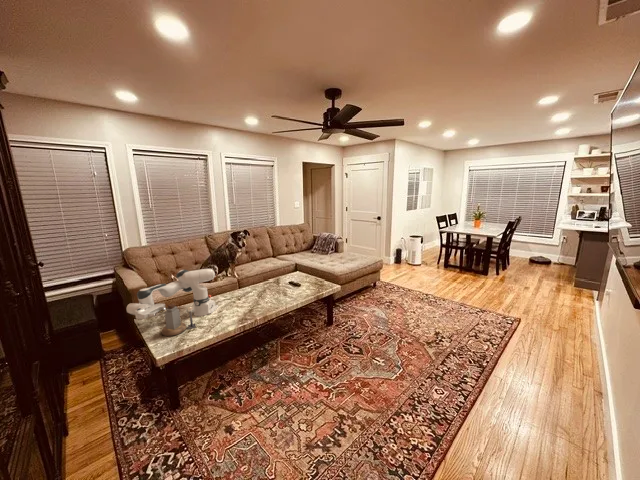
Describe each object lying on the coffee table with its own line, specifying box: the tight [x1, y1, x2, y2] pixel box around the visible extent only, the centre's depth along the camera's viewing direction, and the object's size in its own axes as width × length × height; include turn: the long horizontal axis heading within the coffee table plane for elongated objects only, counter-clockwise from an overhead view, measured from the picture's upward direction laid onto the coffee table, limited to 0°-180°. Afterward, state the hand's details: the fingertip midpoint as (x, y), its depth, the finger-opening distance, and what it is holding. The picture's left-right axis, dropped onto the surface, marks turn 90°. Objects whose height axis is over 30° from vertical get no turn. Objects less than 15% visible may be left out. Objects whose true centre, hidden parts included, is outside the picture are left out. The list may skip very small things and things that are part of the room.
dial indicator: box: [186, 305, 196, 330], centre depth 203 cm, size 5×5×17 cm
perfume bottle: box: [164, 303, 182, 330], centre depth 196 cm, size 7×7×18 cm
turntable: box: [161, 321, 187, 337], centre depth 198 cm, size 16×16×3 cm
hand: (160, 311), depth 198 cm, fingers open, 8 cm apart
